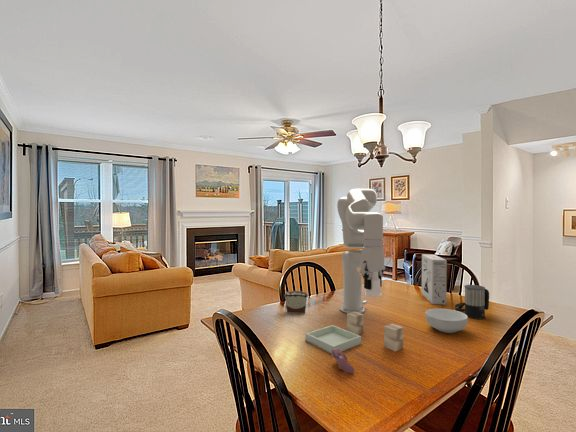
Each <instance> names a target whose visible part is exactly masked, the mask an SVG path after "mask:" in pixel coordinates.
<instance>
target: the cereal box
mask: <svg viewBox="0 0 576 432" xmlns="http://www.w3.org/2000/svg"><path fill="white" fill-rule="evenodd" d="M447 263H448V261H447V259H445V258H442V257H441V256H438V255H436V254H431V253H430V254H428V253H427V254H424V253H423V254H421V295H422V296H423V297H424V298H425V299H426V300H427V301H428V302H430V304H431V305H445V306H447V277H448V276H447V271H448V270H447V265H448V264H447Z"/></svg>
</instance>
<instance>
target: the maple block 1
mask: <svg viewBox="0 0 576 432" xmlns="http://www.w3.org/2000/svg"><path fill="white" fill-rule="evenodd" d="M364 316H365V315H364V313H358V312H355V311H354V312H351V313H346V330H347V331H349V332H352V333H354V334H357V335H359V336H360V335H361V334H364V321H365V320H364Z"/></svg>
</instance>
